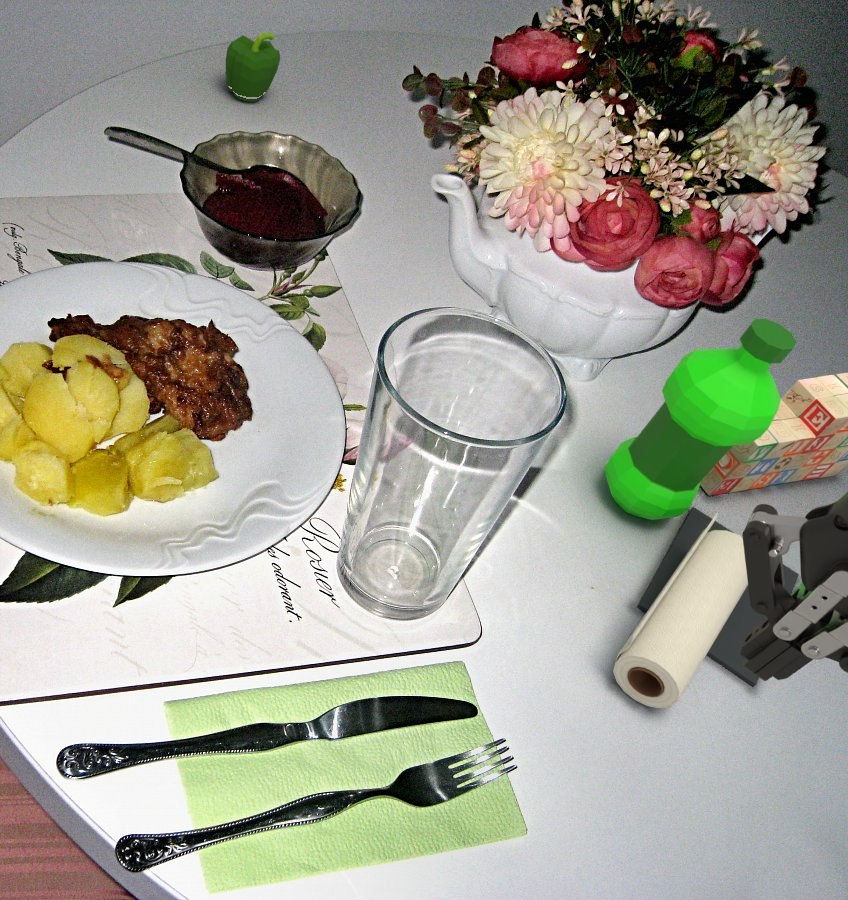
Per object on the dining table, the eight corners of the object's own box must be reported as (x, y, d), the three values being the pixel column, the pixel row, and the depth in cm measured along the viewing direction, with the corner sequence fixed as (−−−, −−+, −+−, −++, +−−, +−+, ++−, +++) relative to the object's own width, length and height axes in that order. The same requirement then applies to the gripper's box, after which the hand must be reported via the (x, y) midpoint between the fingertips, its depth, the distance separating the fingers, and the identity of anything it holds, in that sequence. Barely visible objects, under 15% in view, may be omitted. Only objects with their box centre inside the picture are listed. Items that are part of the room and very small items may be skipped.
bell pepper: (219, 102, 141) (231, 39, 133) (220, 77, 146) (231, 15, 139) (271, 112, 142) (286, 50, 135) (270, 86, 148) (284, 26, 140)
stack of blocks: (708, 498, 103) (775, 427, 94) (676, 457, 107) (738, 385, 98) (837, 475, 111) (911, 407, 102) (803, 437, 114) (871, 368, 105)
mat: (796, 576, 98) (799, 574, 98) (753, 687, 87) (756, 684, 86) (690, 509, 102) (693, 506, 101) (636, 607, 91) (639, 604, 90)
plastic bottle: (642, 550, 96) (793, 386, 77) (572, 480, 101) (698, 310, 82) (695, 517, 101) (849, 357, 82) (626, 452, 106) (756, 286, 87)
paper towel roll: (647, 717, 83) (728, 585, 95) (694, 699, 78) (773, 562, 90) (589, 659, 84) (676, 536, 96) (631, 637, 79) (718, 510, 92)
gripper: (833, 448, 41) (636, 635, 54) (1139, 628, 37) (849, 784, 50) (863, 373, 46) (676, 562, 58) (1138, 526, 42) (873, 693, 54)
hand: (756, 664), depth 54 cm, fingers closed
